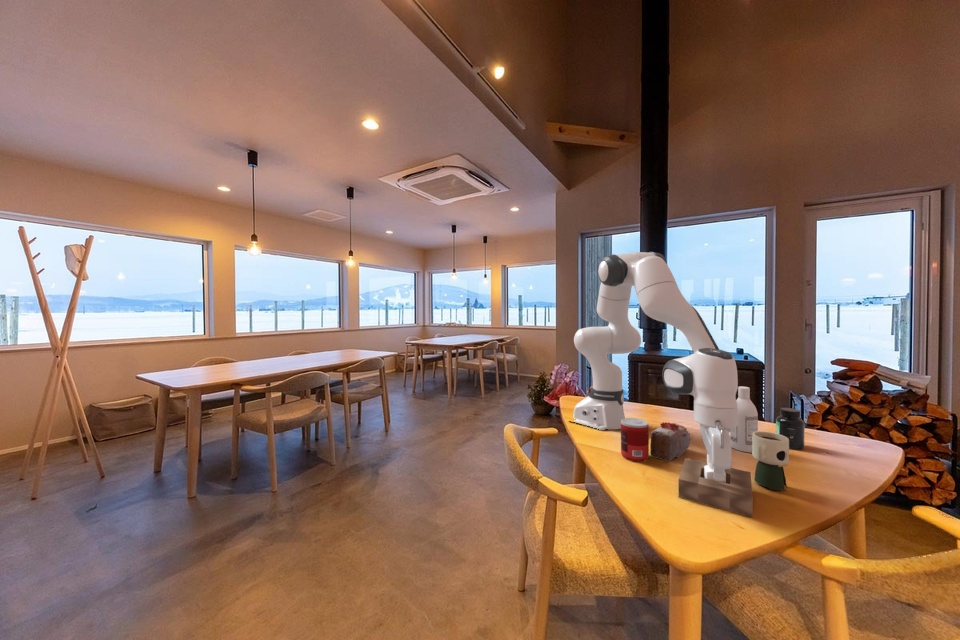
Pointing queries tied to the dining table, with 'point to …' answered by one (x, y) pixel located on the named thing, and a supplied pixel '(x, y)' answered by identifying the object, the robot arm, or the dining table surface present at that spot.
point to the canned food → (635, 439)
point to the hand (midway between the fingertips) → (715, 471)
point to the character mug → (770, 459)
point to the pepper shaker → (711, 471)
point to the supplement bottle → (791, 427)
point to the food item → (669, 441)
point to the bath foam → (744, 422)
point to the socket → (717, 488)
